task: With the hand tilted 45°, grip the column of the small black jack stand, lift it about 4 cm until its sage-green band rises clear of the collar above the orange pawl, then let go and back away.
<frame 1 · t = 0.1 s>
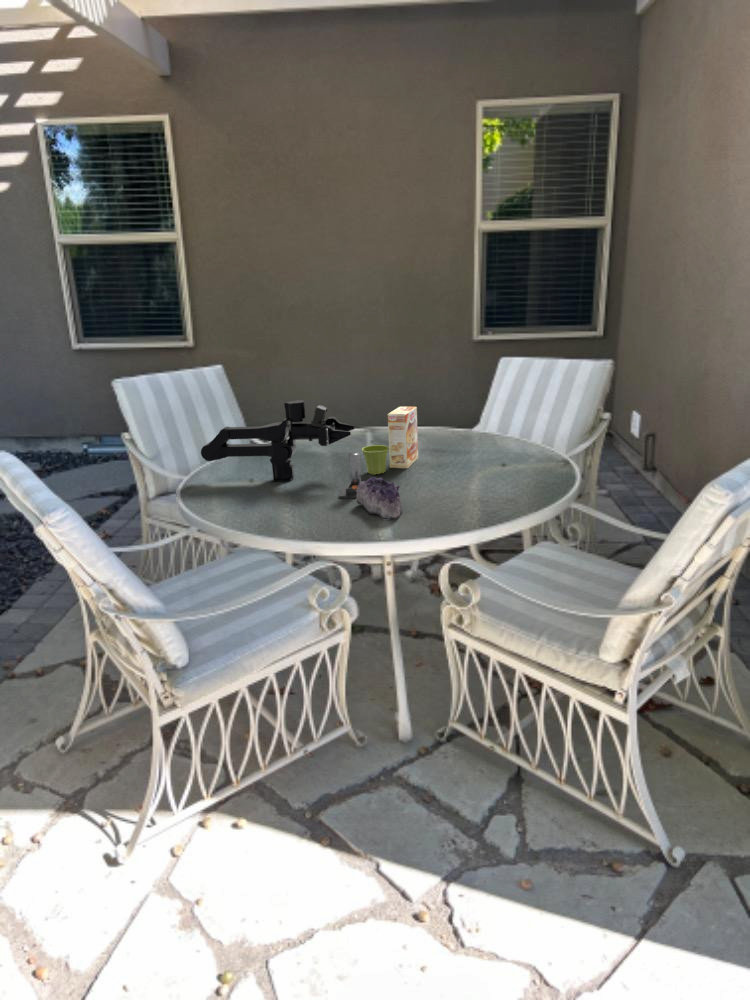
hand: (352, 430, 232), 17 cm above the table, fingers open, 9 cm apart
plant pot: (376, 473, 242), on the table
stand base: (356, 493, 220), on the table
column: (355, 472, 218), point 7 cm above the table, slide at 0.0 cm
geode: (383, 510, 204), on the table
coffeecake box: (404, 463, 253), on the table
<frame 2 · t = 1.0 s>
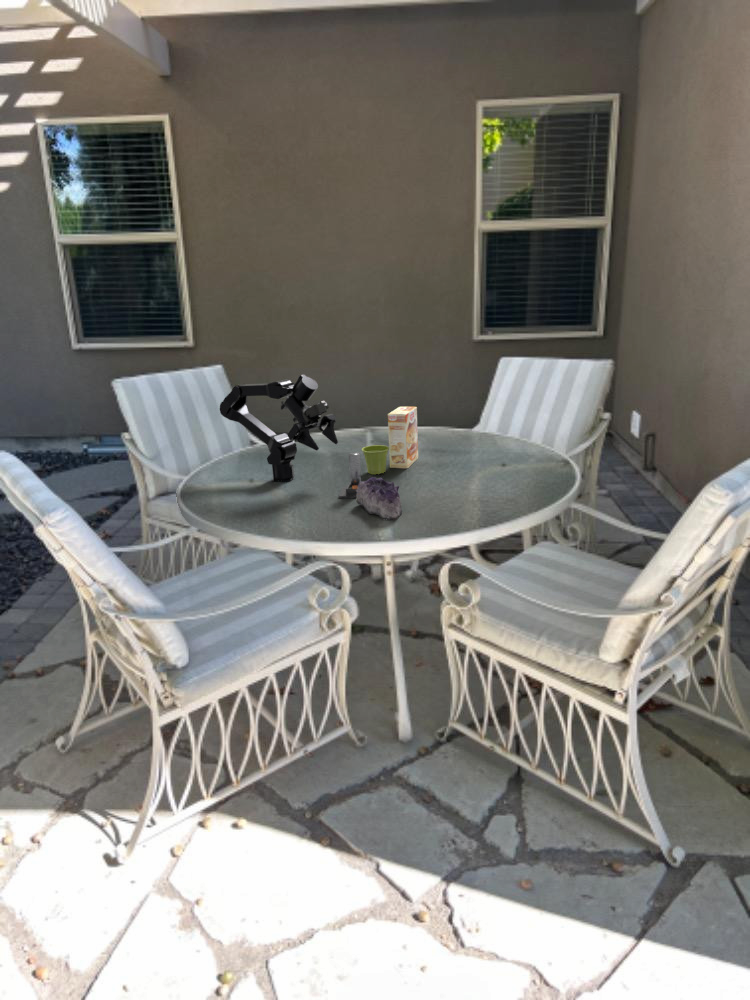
hand: (327, 446, 224), 14 cm above the table, fingers open, 9 cm apart
nothing on the table moved.
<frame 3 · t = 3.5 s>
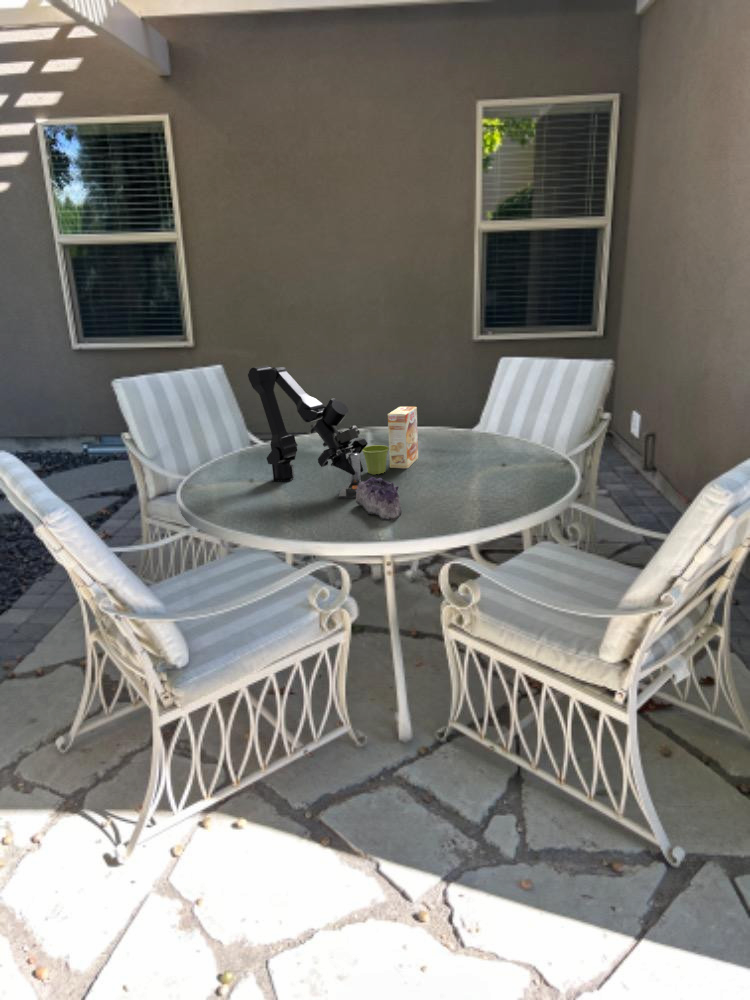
hand: (358, 472, 217), 7 cm above the table, fingers closed on column, 3 cm apart
column: (355, 472, 218), point 7 cm above the table, slide at 0.0 cm, touching gripper
everything else where it was.
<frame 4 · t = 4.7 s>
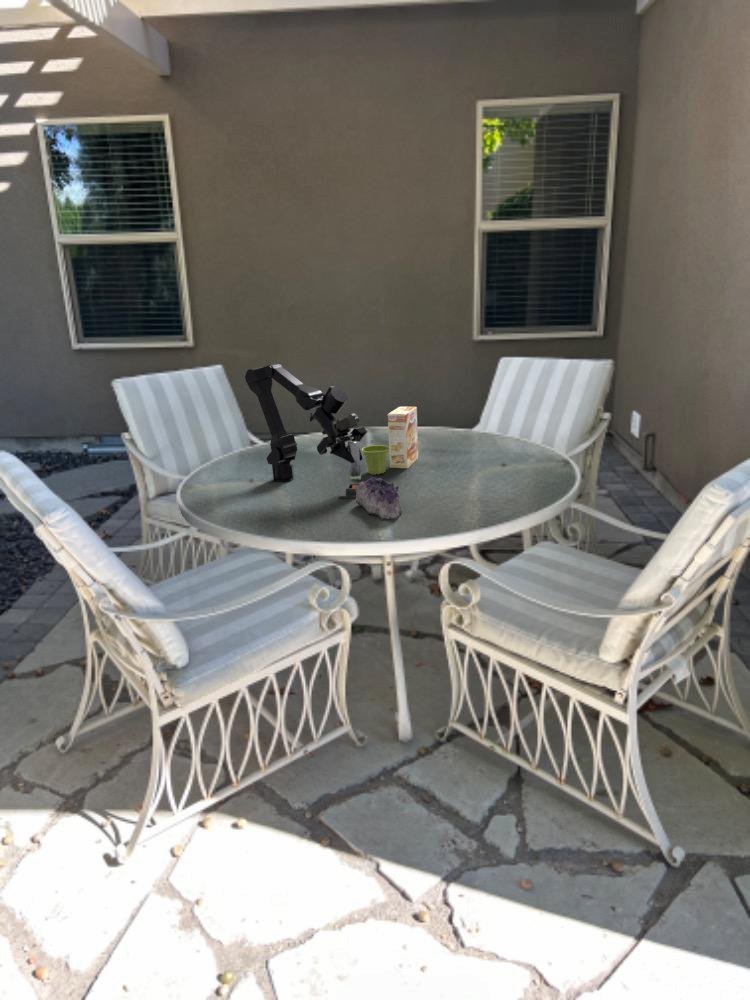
hand: (357, 461, 216), 11 cm above the table, fingers closed on column, 3 cm apart
column: (354, 460, 217), point 11 cm above the table, slide at 3.8 cm, touching gripper
everything else where it was.
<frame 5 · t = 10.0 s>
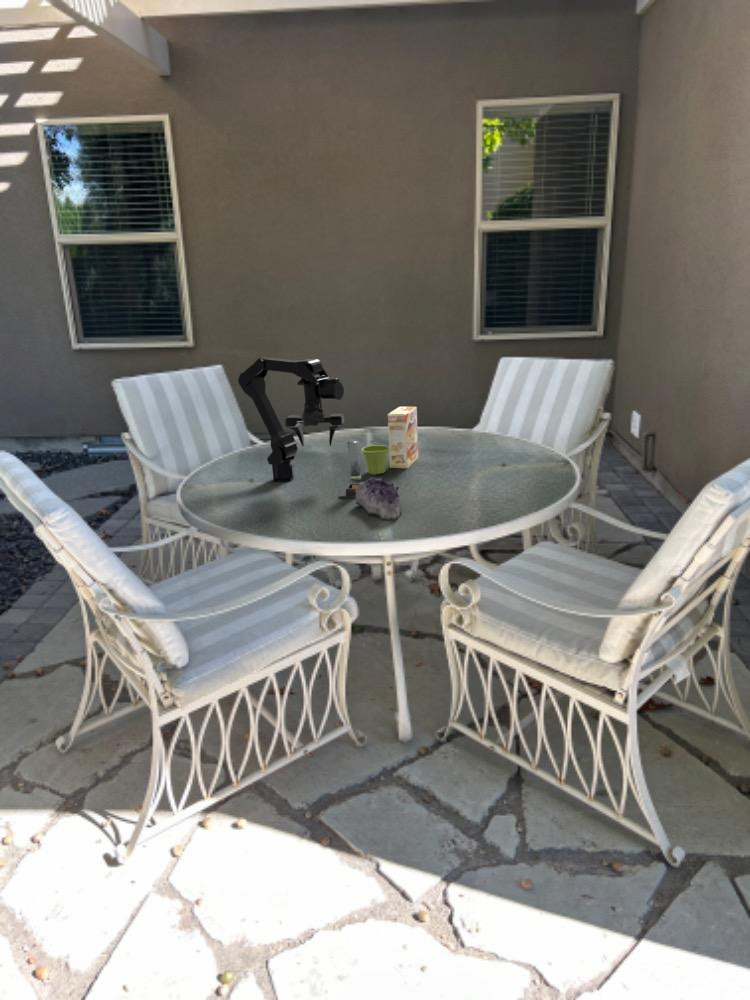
hand: (316, 445, 229), 13 cm above the table, fingers open, 9 cm apart
column: (354, 460, 217), point 11 cm above the table, slide at 3.9 cm
everything else where it was.
at the end: column slide at 3.9 cm; the gripper is holding nothing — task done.
